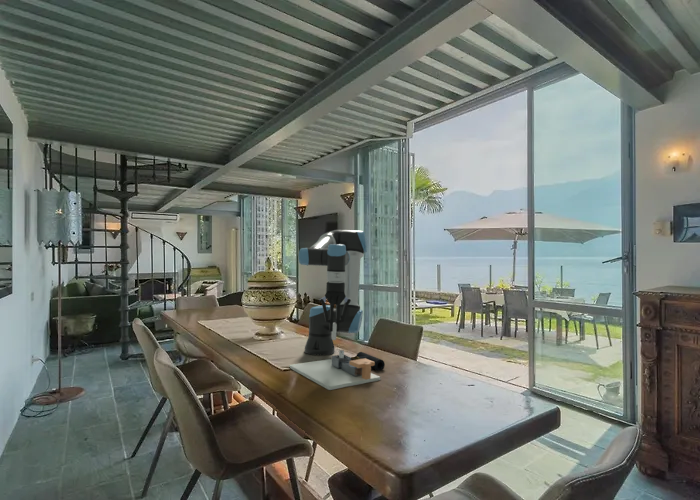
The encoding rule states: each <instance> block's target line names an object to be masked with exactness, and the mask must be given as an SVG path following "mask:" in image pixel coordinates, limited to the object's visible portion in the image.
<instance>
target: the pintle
mask: <svg viewBox="0 0 700 500" xmlns="http://www.w3.org/2000/svg"><path fill="white" fill-rule="evenodd" d="M338 355H339V358H344V355H345V350H339V351H338Z"/></svg>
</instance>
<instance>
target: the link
mask: <svg viewBox="0 0 700 500" xmlns="http://www.w3.org/2000/svg"><path fill="white" fill-rule="evenodd" d="M331 359H332V366H334V367H336V368H338V369H342V370H344V371H346V372H347V373H349V374H351V375H353V376H361V375H362V368H357V367H354V366H352V365H350V364H349V362H350V361H351V357H350V356H348V355H346V354H344V358H339V354H337V355H332V356H331Z"/></svg>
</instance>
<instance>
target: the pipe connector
mask: <svg viewBox="0 0 700 500" xmlns="http://www.w3.org/2000/svg"><path fill="white" fill-rule="evenodd" d="M350 358H351V361H352V360H358V359H365V358H366V359H368V360H371V361H374V362H375V365H374V366H371V370H375V371H378V372H379V371H383V370H384V369H385V360H383V359H381V358H378V357H375V356H373V355H371V354H369V353H366V352H363V351H359V352H357V353H356V356H352V357H350Z"/></svg>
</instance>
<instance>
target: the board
mask: <svg viewBox="0 0 700 500" xmlns="http://www.w3.org/2000/svg"><path fill="white" fill-rule="evenodd" d="M289 367H290V368H291V369H290V368H289ZM288 368H289V369H290V370H293V371H294V372H296V373H297V374H300V375H302V376H303V377H304V378H307V379H309V380H310V381H312V382H314V383H316V384H317V385H319V386H321V387H322V388H325V389H326V390H328V391H331V390H332V391H333V390H336V389H337V390H338V389H342V388H347V387H352V386H357V385H362V384H367V383H372V382H377V381H381V376H379V375H378V374H374V373H373V372H371V379H364V378H362V375H361V376H353V375H351V374H349V373H347V372H346V371H344V370H342V369H338V368H336V367H334V366H332V358H328V359H323V360H321V359H320V360H315V361H314V360H313V361H309V362H300V363H294V364H289V365H288Z"/></svg>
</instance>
